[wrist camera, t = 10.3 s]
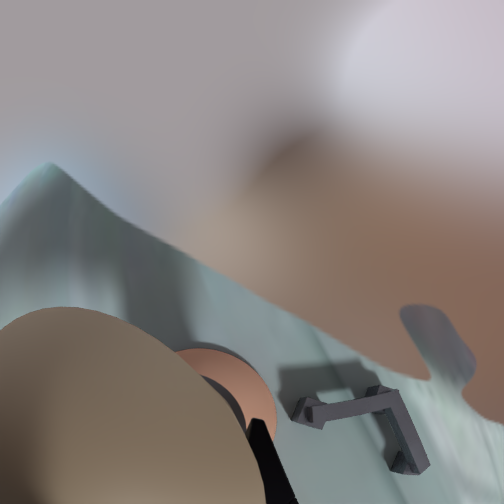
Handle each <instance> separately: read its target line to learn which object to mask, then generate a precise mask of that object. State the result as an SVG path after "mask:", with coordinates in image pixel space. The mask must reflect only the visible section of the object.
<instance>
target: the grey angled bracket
mask: <svg viewBox="0 0 504 504" xmlns="http://www.w3.org/2000/svg"><path fill="white" fill-rule="evenodd" d="M370 412H373V413H377V414H386V416H387V418H388V420H389V422H390V425H391V427H392V429H393V431H394V433H395V435H396V438H397V440H398V442H399V444H400V446H401V449H402V451H403V452H400V451H398V454H397V456H396V459H395V462H394V464H393V466H392V469H391V471H392V472H396V473H400V474H406V475H420V474H421V473H422V472H423V471H425V470H426V469H427V468H428V467H429V466H430V463H429V460H428V457H427V455H426V452H425V450H424V448H423V445H422V443H421V440H420V438H419V436H418V433H417V431H416V429H415V426H414V424H413V422H412V420H411V417H410V415H409V413H408V411H407V409H406V406H405V404H404V402H403V400H402V398H401V396H400V394H399V390H398V389H391V388H388V387H385V386H381V385H378V386H373V387H368V390H367V393H366V396H365V397H364V398H359V399H354V400H348V401H343V402H337V403H331V404H327V403H324V402H321V401H318V400H315V399H312V398H309V397H303V398H300V400H299V402H298V405H297V407H296V409H295V412H294V414H293V416H292V419H291V421H294V422H297V423H300V424H303V425H307V426H310V427H313V428H317V429H321V430H322V429H323V426H324V424H325V421H331V420H336V419H342V418H347V417H352V416H357V415H361V414H366V413H370Z"/></svg>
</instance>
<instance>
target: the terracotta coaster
mask: <svg viewBox="0 0 504 504" xmlns="http://www.w3.org/2000/svg"><path fill="white" fill-rule="evenodd" d="M175 353H176V354H178V355H179V356H180V357H181V358H182V359H183V360H184V361H185V362H186V363H187V364H189V365H190V366H191V367H192V368H193V369H194V370H195V371H196V372H197V373H198V374H200V375H203V376H206V377H208V378H210V379H213V380H215V381H216V382H218V383H219V384H221V385H222V386H223V387H225V388H226V389H227V390H228V391H229V392H230V393H231V394H232V395H233V396H234V398H235V399H236V400H237V402H238V403H239V405H240V407H241V409H242V412H243V414H244V417H245V421H246V429H247V428H248V425H249V423H250V421H251V419H252V418H258V419H262V420H264V421H265V424H266V426H267V429H268V431H269V434H270V436H271V439H272V441H273V439H274V436H275V432H276V424H277V416H276V408H275V403H274V400H273V397H272V395H271V393H270V391H269V389H268V387H267V385H266V384H265V382H264V381H263V379H262V378H261V377H260V376H259V375H258V374H257V372H256V371H254V370H253V369H252V368H251V367H250V366H249V365H247V364H246V363H244V362H243V361H242V360H240V359H238V358H236V357H234V356H232V355H229V354H227V353H224V352H221V351H217V350H212V349H201V348H195V349H186V350H181V351H177V352H175Z"/></svg>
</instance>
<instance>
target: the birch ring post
mask: <svg viewBox="0 0 504 504" xmlns="http://www.w3.org/2000/svg"><path fill="white" fill-rule="evenodd" d="M246 430H247V429H246V421H245V417H244V414H243V412H242V409H241V407H240V405H239V403H238V402H237V400H236V399H235V398H234V396H233V395H232V394H231V393H230V392H229V391H228V390H227V389H226V388H225V387H223V386H222V385H221V384H219V383H218V382H216V381H215V380H213V379H210V378H208V377H206V376H203V375H200V374H198V373H197V372H196V371H195V370H194V369H193V368H192V367H191V366H190V365H189V364H187V363H186V362H185V361H184V360H183V359H182V358H181V357H180V356H179V355H178V354H176V353H175V352H174V351H172V350H171V349H169V348H168V347H167V346H166V345H164V344H163V343H162V342H160V341H159V340H158V339H156V338H154V337H153V336H151V335H149V334H148V333H146V332H144V331H143V330H141V329H139V328H138V327H136V326H134V325H132V324H129V323H127V322H125V321H123V320H121V319H119V318H117V317H114V316H111V315H107V314H104V313H101V312H98V311H94V310H89V309H83V308H78V307H54V308H45V309H41V310H37V311H34V312H30V313H28V314H25V315H23V316H21V317H19V318H17V319H15V320H14V321H12V322H11V323H9V324H8V325H6V326H5V327H4V328H3V329H2V330H0V504H266V500H265V492H264V484H263V481H262V477H261V474H260V471H259V467H258V463H257V461H256V459H255V456H254V454H253V452H252V450H251V447H250V445H249V443H248V440H247V438H246V436H245V432H246Z"/></svg>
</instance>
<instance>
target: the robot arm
mask: <svg viewBox="0 0 504 504" xmlns="http://www.w3.org/2000/svg"><path fill="white" fill-rule="evenodd" d="M245 436H246V438H247V440H248V443H249V445H250V447H251V450H252V452H253V454H254V456H255V459H256V461H257V463H258V467H259V471H260V474H261V477H262V481H263V484H264V492H265V500H266V504H299V503H298V501H297V499H296V498H295V494H294V492H293V490H292V487H291V485H290V483H289V480H288V478H287V476H286V473H285V471H284V469H283V466H282V464H281V461H280V459H279V456H278V454H277V451H276V449H275V447H274V444H273V441H272V439H271V436H270V434H269V431H268V429H267V426H266V424H265V421H264V420H262V419H258V418H252V419H251V421H250V423H249V425H248V428H247V430H246V432H245Z"/></svg>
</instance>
